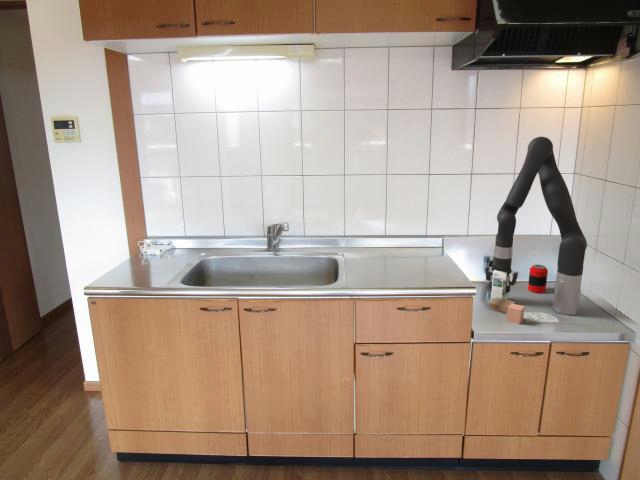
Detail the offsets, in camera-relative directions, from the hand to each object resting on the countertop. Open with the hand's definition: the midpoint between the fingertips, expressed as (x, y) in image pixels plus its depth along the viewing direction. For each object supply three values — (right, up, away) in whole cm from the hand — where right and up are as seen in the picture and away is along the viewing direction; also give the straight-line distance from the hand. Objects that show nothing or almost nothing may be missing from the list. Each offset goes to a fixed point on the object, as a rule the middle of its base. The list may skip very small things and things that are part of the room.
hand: (499, 291), depth 200 cm
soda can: (+22, -1, +12) cm, 25 cm away
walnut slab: (-2, -7, -7) cm, 10 cm away
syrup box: (0, -5, +1) cm, 5 cm away
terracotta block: (-1, -10, -18) cm, 21 cm away
